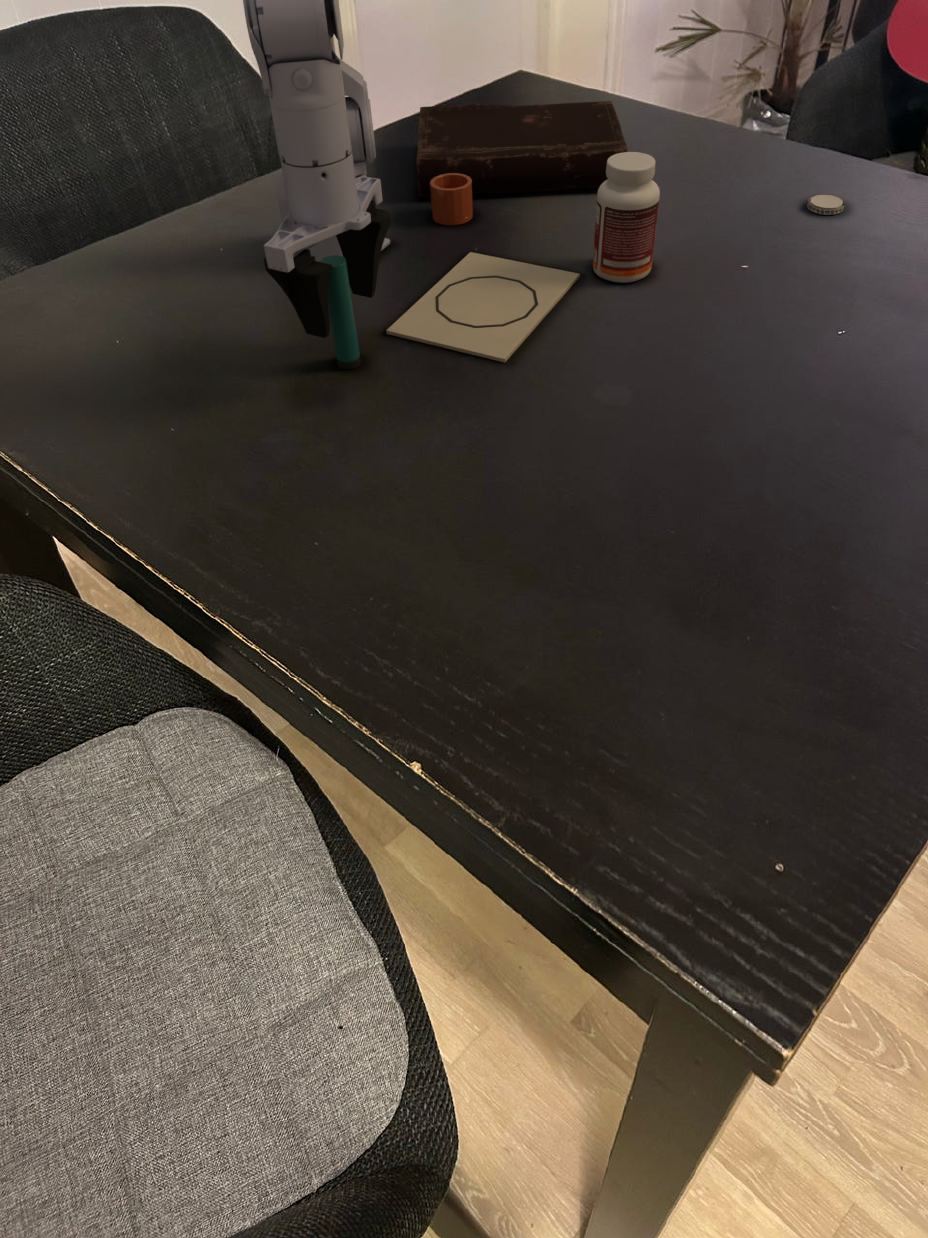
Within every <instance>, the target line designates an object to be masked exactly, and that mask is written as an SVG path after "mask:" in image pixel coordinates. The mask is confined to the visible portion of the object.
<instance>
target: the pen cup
mask: <svg viewBox="0 0 928 1238" xmlns="http://www.w3.org/2000/svg"><path fill="white" fill-rule="evenodd" d="M430 192H431V197H430V204H431V205H430V207H431V215H432V217H431V218H432V220H433V221H434V222H435V223H437V224H439V225H442V226H459V225H462V224H466V223H468V222H470V221H471V220H472V219H473V217H474V193H473V192H472V179H471V178H470V177H469V176H467V175H464V174H459V173H448V174H442V175H439V176H436V177H434V178H433V179H432V180H431V181H430Z"/></svg>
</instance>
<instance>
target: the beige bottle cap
mask: <svg viewBox="0 0 928 1238" xmlns="http://www.w3.org/2000/svg"><path fill="white" fill-rule="evenodd" d="M845 205H846V202H845V200H844V199H843V198H841V197H839V196H836V195H832V194H817V195H813V196H811V197H809V198H808V200H807V205H806V208H807V210H809V211H811V212H812V213H815V214H819V215H837V214H839V213H840V214H841V213H842V212H843V211H844V208H845Z"/></svg>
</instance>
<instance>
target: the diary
mask: <svg viewBox="0 0 928 1238" xmlns="http://www.w3.org/2000/svg"><path fill="white" fill-rule="evenodd" d="M418 115H419V116H418V130H417V146H416V147H417V148H416V160H415V161H416V163H415V164H416V176H417V177H416V178H417V189H418V197H419V198H431V192H430V181H431V180H432V179H433V178H434V177H436V176H439V175H442V174H448V173H459V174H464V175H467V176H469V177H470V178H471V179H472V192H473V194H489V193H490V194H495V193H496V194H497V193H503V194H505V193H507V194H509V193H532V192H542V191H543V192H544V191H554V190H568V189H599V187H600V186H601V184H602V183H603V182H604V181H606V180H607V179H608V178H607V176H606V166H607V160H608V158H609V157H611V156H612V155H615V154H618V153H624V152H629V149H628V146H627V142H626V140H625V137H624V133H623V130H622V127H621V126H622V125H621V122H620V120H619V117H618V115H617V110H616V108H615V106H614V104H613V101H611V100H604V101H602V100H601V101H600V100H598V101H580V102H563V103H561V102H560V103H543V104H541V103H540V104H525V105H524V104H523V105H512V104H511V105H509V104H508V105H507V104H485V103H482V104H481V103H465V104H463V103H462V104H450V105H449V104H446V105H431V106H430V105H429V106H420V107H419V114H418Z"/></svg>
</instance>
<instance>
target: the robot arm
mask: <svg viewBox="0 0 928 1238" xmlns="http://www.w3.org/2000/svg"><path fill="white" fill-rule="evenodd" d="M242 3H243V11H244V18H245V24H246V28H247V29H246V30H247V34H248V39H249V43H250V46H251V50H252V53H253V56H254V58H255V61H256V63H257V67H258V70H259V74H260V79H261V84H262V89H263V92H264V96H265V97H268V98H269V99H268V100H269V101H268V102H269V107H270V112H271V118H272V123H273V129H274V137H275V142H276V143H275V144H276V148H277V152H278V157H279V162H280V166H281V174H280V175H279V178H278V183H277V203H278V208H279V213H280V219H281V224H280V225H279V226H278V228H277V230H276V231H275V232H274V235H273V236H272V237H271V238H270V239H269V240H267V242H265V243H264V244H263V250H264V254H265V256H264V257H263V263H264V268H265V272H266V273H267V274H268V275H269V276H270V277H271V278H272V279H273V280H274V281H275V282H276V284H277V285H278V286H279V287H280V288H281V290H282V291H283V292H284V294H285V295H286V297H287V299H288V300H289V302H290V303H291V305H292V307H293V309H294V310H295V312H296V314H297V317H298V318H299V320H300V322H301V325H302V327H303V329H304V330H305V333H306V334H307V335H311V336H314V337H318V338H321V339H325V338H327V337H328V336H329V335H330V330H331V322H330V316H329V309H328V285H329V278H330V274H331V270H332V267H333V265H331V264H327V263H322V262H321V260H322V259H323V258H325V257H327V256H332V255H339V256H343V257H344V258H345V259H346V265H347V271H348V278H349V285H350V291H351V292H352V293H351V294H353V295H356V296H361V297H365V298H370V299H372V298H373V297H374V296H375V294H376V289H377V281H378V273H379V262H380V257H381V253H382V251H383V250H384V249H386V248H387V247H388V246H389V245H390V244H391V239H390V238H387V237H386V236H387V234H388V231H389V229H390V226H391V224H392V218H391V217H392V216H391V212H390V211H388V210H386V209H383V208H376V206H379V205H380V204H381V203H382V202H383V201H384V200H383V191H382V182H381V181H382V180H381V178H376V177H370V176H367V174H368V173H367V165H372V164H373V163H374V161H375V160H376V158H377V150H376V141H375V131H374V124H373V114H372V108H371V107H372V105H371V99H369V92H368V83H367V81H366V80H364V76H363V75H362V74H361V73H360V72H359V71H358V70H356V69H355V68H353V67H352V66H350V64H348V63H346V62H345V61H344V60H343V59H344V47H345V46H344V34H343V33H344V32H343V26H342V18H341V10H340V9H341V8H340V1H339V0H242ZM335 38H336V40H337V45H338V50H339V51H338V53H339V56H338V55H337V54H336V53H337V52H336V45H335Z"/></svg>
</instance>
